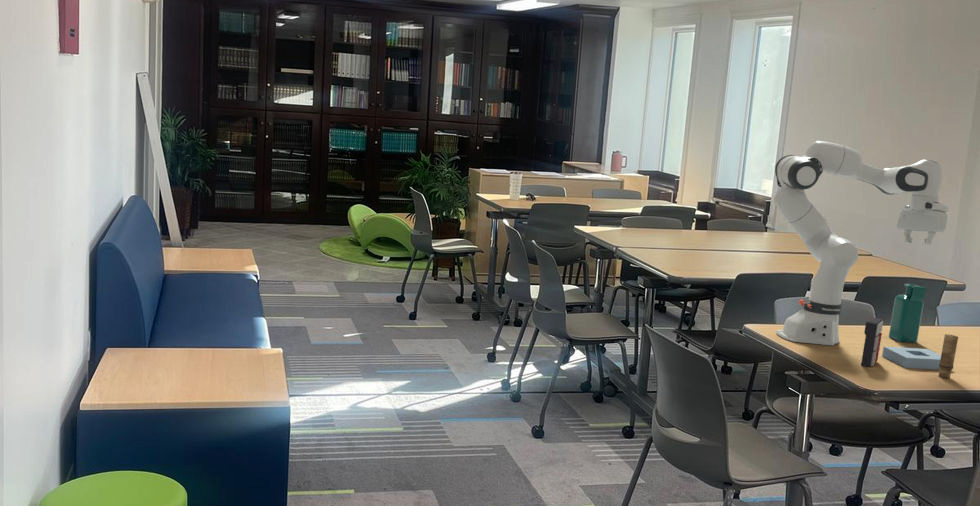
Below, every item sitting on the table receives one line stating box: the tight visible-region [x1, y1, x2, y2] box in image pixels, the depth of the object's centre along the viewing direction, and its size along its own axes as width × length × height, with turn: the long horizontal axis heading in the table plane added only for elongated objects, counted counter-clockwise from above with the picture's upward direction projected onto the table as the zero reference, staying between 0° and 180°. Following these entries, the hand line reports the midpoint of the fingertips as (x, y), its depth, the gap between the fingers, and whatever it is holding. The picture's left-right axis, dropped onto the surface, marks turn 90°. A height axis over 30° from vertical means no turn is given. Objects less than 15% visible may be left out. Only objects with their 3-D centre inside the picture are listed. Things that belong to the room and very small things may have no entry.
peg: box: [938, 334, 959, 380], centre depth 303 cm, size 4×4×14 cm
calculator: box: [860, 316, 884, 368], centre depth 312 cm, size 11×4×15 cm, turn 148°
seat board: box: [881, 346, 941, 371], centre depth 320 cm, size 17×14×4 cm
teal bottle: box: [888, 283, 927, 344], centre depth 353 cm, size 10×8×22 cm
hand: (917, 243), depth 333 cm, fingers open, 8 cm apart
